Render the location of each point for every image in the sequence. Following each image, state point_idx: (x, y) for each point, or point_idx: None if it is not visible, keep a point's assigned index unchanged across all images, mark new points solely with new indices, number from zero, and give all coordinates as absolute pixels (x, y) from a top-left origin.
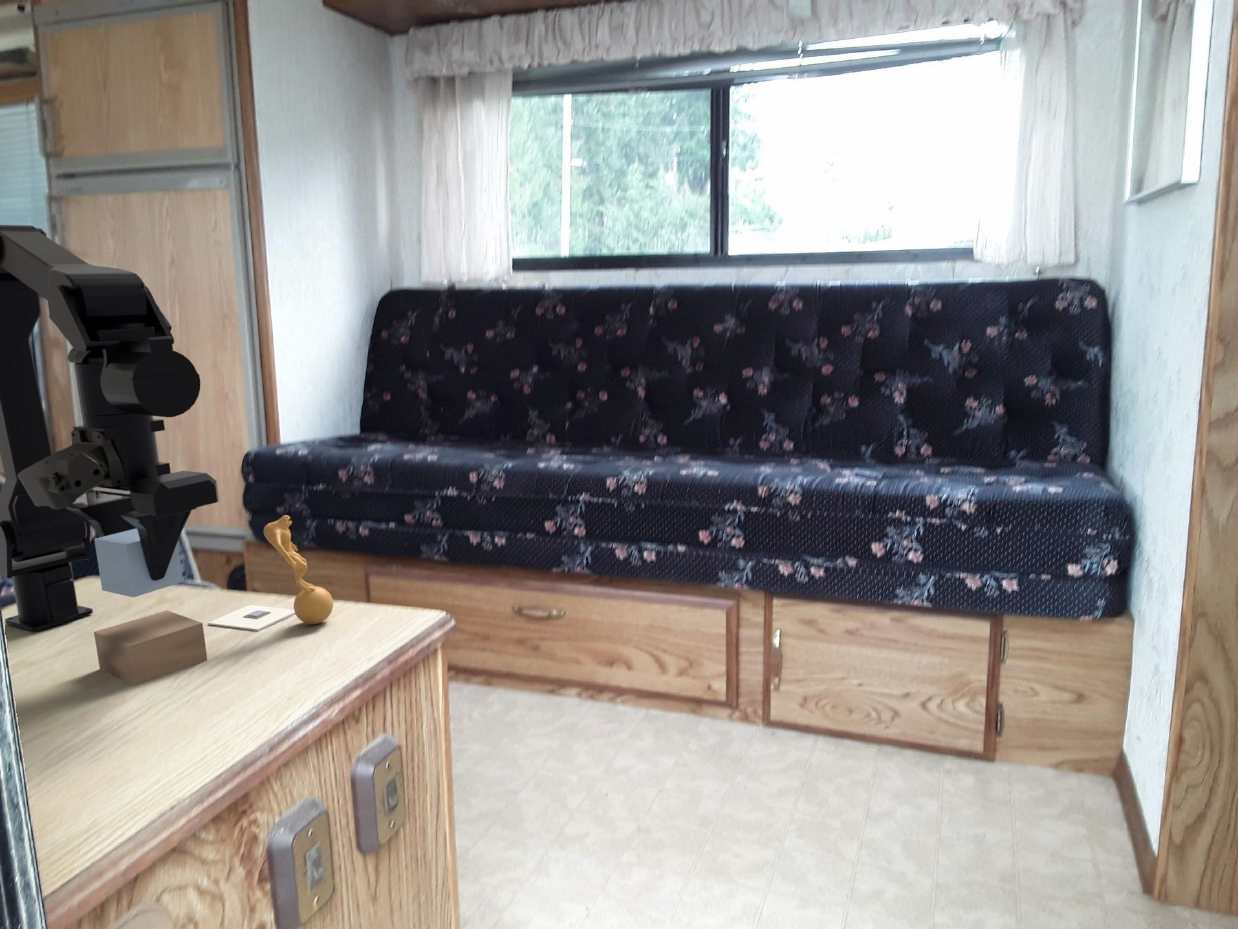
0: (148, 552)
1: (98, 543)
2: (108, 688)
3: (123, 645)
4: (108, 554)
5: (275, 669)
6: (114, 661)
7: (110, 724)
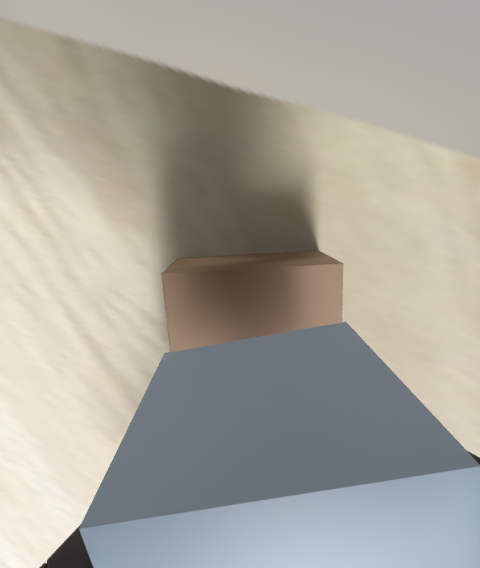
0: (66, 544)
1: (415, 450)
2: (203, 223)
3: (185, 271)
4: (301, 423)
5: (52, 429)
6: (247, 259)
7: (24, 160)
